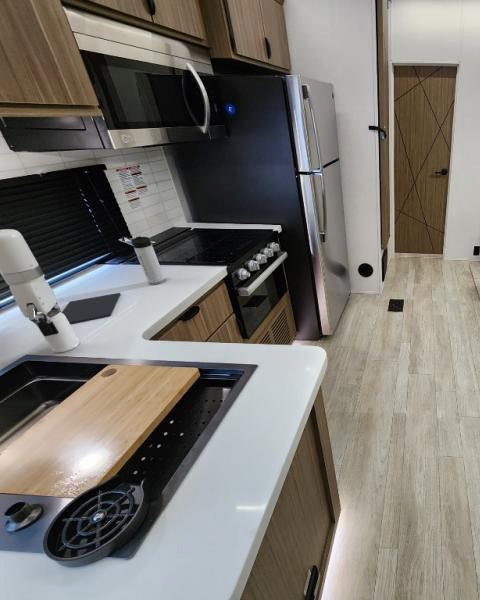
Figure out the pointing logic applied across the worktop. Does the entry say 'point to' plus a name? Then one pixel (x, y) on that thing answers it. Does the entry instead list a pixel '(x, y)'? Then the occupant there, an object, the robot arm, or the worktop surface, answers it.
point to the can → (61, 333)
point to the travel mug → (148, 260)
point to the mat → (90, 308)
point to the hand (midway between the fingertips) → (55, 328)
